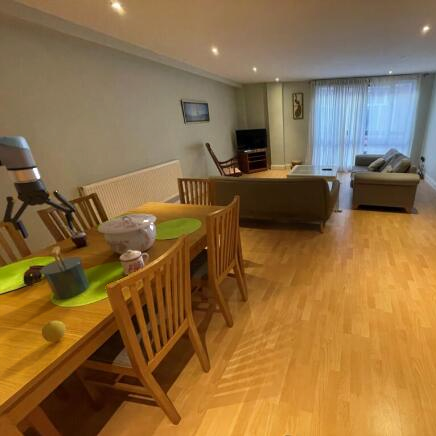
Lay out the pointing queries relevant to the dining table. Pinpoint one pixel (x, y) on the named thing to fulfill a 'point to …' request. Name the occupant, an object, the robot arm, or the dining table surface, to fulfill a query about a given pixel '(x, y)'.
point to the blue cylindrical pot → (68, 283)
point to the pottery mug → (33, 275)
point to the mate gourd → (78, 238)
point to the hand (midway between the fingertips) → (50, 232)
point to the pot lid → (60, 263)
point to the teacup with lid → (132, 261)
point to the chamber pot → (129, 232)
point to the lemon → (53, 331)
